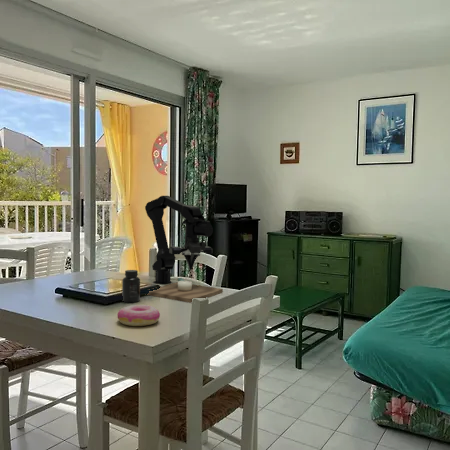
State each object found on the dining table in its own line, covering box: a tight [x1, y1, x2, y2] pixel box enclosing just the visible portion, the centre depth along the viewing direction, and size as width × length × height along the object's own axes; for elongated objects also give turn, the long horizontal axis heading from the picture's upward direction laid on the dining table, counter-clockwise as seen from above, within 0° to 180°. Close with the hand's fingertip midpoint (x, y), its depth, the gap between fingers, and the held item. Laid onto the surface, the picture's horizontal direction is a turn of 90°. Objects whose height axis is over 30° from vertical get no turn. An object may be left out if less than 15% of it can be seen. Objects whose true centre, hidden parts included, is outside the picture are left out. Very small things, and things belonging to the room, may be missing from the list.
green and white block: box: [177, 277, 193, 291], centre depth 197 cm, size 13×6×3 cm, turn 19°
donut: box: [117, 304, 161, 327], centre depth 149 cm, size 14×13×5 cm
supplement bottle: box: [121, 269, 141, 304], centre depth 177 cm, size 7×7×12 cm
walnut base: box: [147, 281, 224, 304], centre depth 194 cm, size 24×24×2 cm
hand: (190, 269), depth 203 cm, fingers closed
